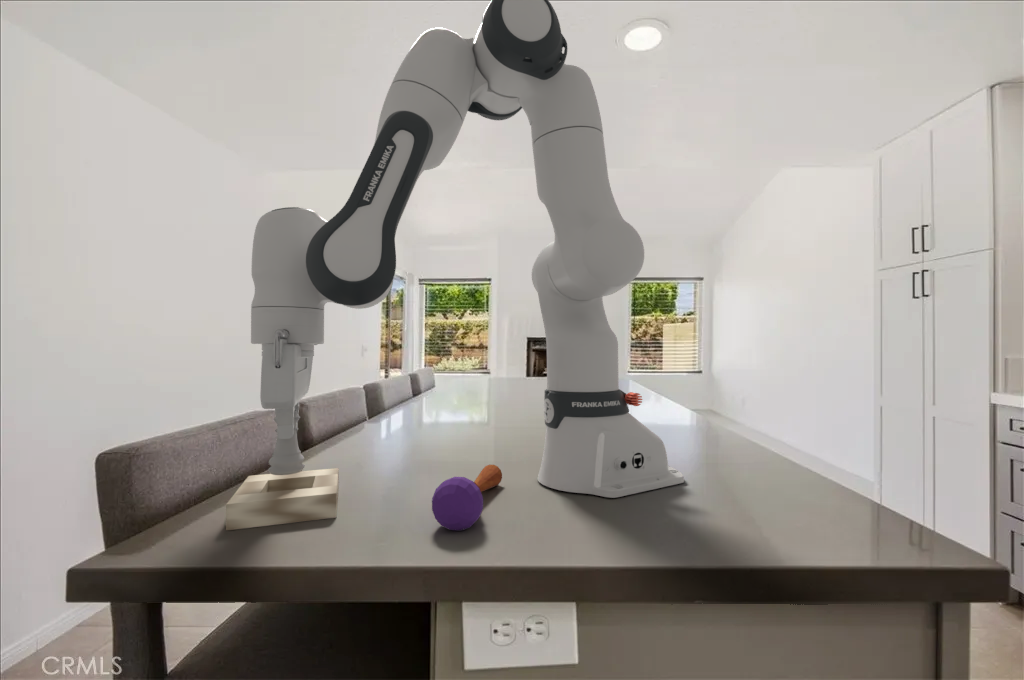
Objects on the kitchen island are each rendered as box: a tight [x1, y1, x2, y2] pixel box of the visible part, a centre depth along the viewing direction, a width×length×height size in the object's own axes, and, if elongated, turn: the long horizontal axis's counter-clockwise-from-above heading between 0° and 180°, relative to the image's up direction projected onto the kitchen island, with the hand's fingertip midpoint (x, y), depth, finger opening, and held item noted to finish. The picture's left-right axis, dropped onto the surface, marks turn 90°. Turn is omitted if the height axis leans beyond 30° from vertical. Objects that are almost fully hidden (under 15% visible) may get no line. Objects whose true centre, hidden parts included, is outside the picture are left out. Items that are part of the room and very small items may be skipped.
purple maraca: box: [431, 464, 503, 531], centre depth 62 cm, size 6×6×20 cm
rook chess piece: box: [267, 410, 305, 475], centre depth 63 cm, size 4×4×8 cm
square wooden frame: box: [225, 467, 340, 531], centre depth 63 cm, size 12×13×3 cm
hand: (287, 435), depth 63 cm, fingers closed on rook chess piece, 3 cm apart
